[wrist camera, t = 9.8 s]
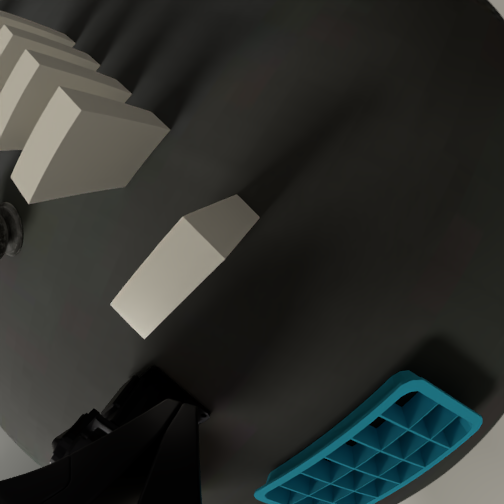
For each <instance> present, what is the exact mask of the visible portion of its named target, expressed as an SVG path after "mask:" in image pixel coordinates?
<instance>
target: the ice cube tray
mask: <svg viewBox="0 0 504 504" xmlns="http://www.w3.org/2000/svg"><path fill="white" fill-rule="evenodd" d="M414 391H419V392H418V393H417V394H416V395H415V396H414V397H413V398H411V399H410V400H409V401H408V402H407V403H406V404H405V405H404V406H403V407H401V406H399V405H397V404H395V402H396V401H397V400H398V399H399V398H400V397H402V396H403V395H405V394H407V393H409V392H414ZM438 404H439V405H438ZM433 408H434V409H433ZM432 409H433V410H432ZM431 410H432V411H431ZM430 411H431V412H430ZM429 412H430V413H429ZM428 413H429V414H428ZM424 416H425V417H424ZM377 417H381V418H383V419H385V420H386V421H385V422H384V423H383V424H381V425H380V426H379V427H378V428H374V427H372V426H370V425H369V424H370V423H371V422H373V421H374V420H375V419H376V418H377ZM423 417H424V418H423ZM481 425H482V416H481V415H479V414H478V413H476V412H475V411H473V410H472V409H470V408H468V407H467V406H465V405H464V404H462V403H461V402H459V401H458V400H456V399H455V398H453V397H452V396H450V395H448V394H447V393H445V392H444V391H442V390H441V389H439V388H438V387H436V386H435V385H433V384H432V383H430V382H429V381H427V380H426V379H424V378H422V377H419V376H417V375H416V374H414V373H413V372H411V371H410V370H406V371H400V372H398V373H396V374H395V375H393V376H391V377H390V378H389V379H388V380H387V381H386V382H385V383H384V384H383V385H382V386H381V387H380V388H379V389H378V390H377V391H375V392H374V393H373V394H372V395H371V396H370V397H369V398H368V399H367V400H365V401H364V402H363V403H362V404H361V405H360V406H359V407H357V408H356V409H355V410H354V411H353V412H352V413H350V414H349V415H348V416H347V417H346V418H344V419H343V420H342V421H341V422H340V423H338V424H337V425H336V426H335V427H333V428H332V429H331V430H329V431H328V432H327V433H326V434H324V435H323V436H322V437H320V438H319V439H318V440H316V441H315V442H314V443H312V444H311V445H310V446H308V447H307V448H305V449H304V450H303V451H301V452H300V453H298V454H297V455H296V456H294V457H293V458H291V459H290V460H288V461H287V462H285V463H284V464H282V465H281V466H279V467H278V468H276V469H275V470H273V471H271V473H270V474H269V475H268V478H267V482H266V484H265V485H264V486H262V487H260V488H258V489H256V491H255V493H254V497H255V498H256V499H257V500H260V501H262V502H265V503H268V504H374V503H376V502H378V501H380V500H381V499H383V498H385V497H387V496H388V495H390V494H392V493H393V492H395V491H397V490H398V489H400V488H402V487H403V486H405V485H406V484H408V483H409V482H411V481H413V480H414V479H416V478H417V477H419V476H420V475H421V474H423V473H424V472H426V471H427V470H429V469H430V468H431V467H433V466H434V465H436V464H437V463H438V462H440V461H441V460H442V459H444V458H445V457H446V456H448V455H449V454H450V453H451V452H453V451H454V450H455V449H456V448H458V447H459V446H460V445H461V444H463V443H464V442H465V441H466V440H467V439H468V438H470V437H471V436H472V435H473V434H474V433H475V432H476V431H478V429H479V428H480V426H481ZM405 432H406V433H405ZM404 433H405V434H404ZM403 434H404V435H403ZM400 436H401V437H400ZM399 437H400V438H399ZM350 439H351V440H353V441H356V442H358V443H357V444H355V445H354V446H353V447H352V446H350V445H347V444H345V443H346V442H347V441H348V440H350ZM379 452H380V453H379ZM376 454H377V455H376ZM323 458H325V459H328V460H330V461H331V462H328V461H326V460H323ZM352 470H353V471H352Z"/></svg>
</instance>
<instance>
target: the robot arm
mask: <svg viewBox="0 0 504 504" xmlns="http://www.w3.org/2000/svg"><path fill="white" fill-rule="evenodd" d="M153 371H154V372H155V373H154V372H153ZM99 413H100V412H98V411H97V410H95V409H93V410H92V411H91V412H90V413H89V414H87V413H86V414H82V416H81V417H80V418H79V419H78V420H77V422H76V423H75V424H74V425H73V426H72V427H71V428H69V429H68V430H66V431H65V432H64V433H62V434H61V435H59V436H58V437H56V438H55V439H54V440H53V442H52V447H53V454H52V458H51V460H50V464H49V465H47V466H45V467H42V468H40V469H37V470H34V471H31V472H28V473H26V474H23V475H19V476H16V477H13V478H9V479H6V480H2V481H0V504H202V498H201V480H200V458H199V426H198V425H199V424H200V423H202V422H204V421H206V420H207V419H209V417H210V414H211V413H210V411H209V410H207V409H206V408H205V407H204V406H202V405H201V404H200V403H199V402H197V401H196V400H195V399H194V398H192V397H191V396H190V395H189V394H188V393H186V392H185V391H184V390H183V389H182V388H180V387H179V386H178V385H177V384H176V383H175V382H173V381H172V380H171V379H170V378H169V377H168V376H167V375H165V374H164V373H163V372H162V371H161V370H160V369H159V368H157V367H155V366H152V367H150V368H149V369H148V370H147V371H146V372H144V373H143V374H142V375H141V376H140V377H138V376H137V375H134V376H133V377H132V378H131V379H130V380H128V381H127V382H126V383H125V384H124V385H123V386H122V387H121V388H120V389H119V391H118V392H117V393H116V394H115V396H114V397H113V398H112V399H111V401H110V402H109V403H108V405H107V406H106V407H105V408H104V410H103V411H102V412H101V414H102V415H101V414H99ZM205 414H206V415H205Z"/></svg>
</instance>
